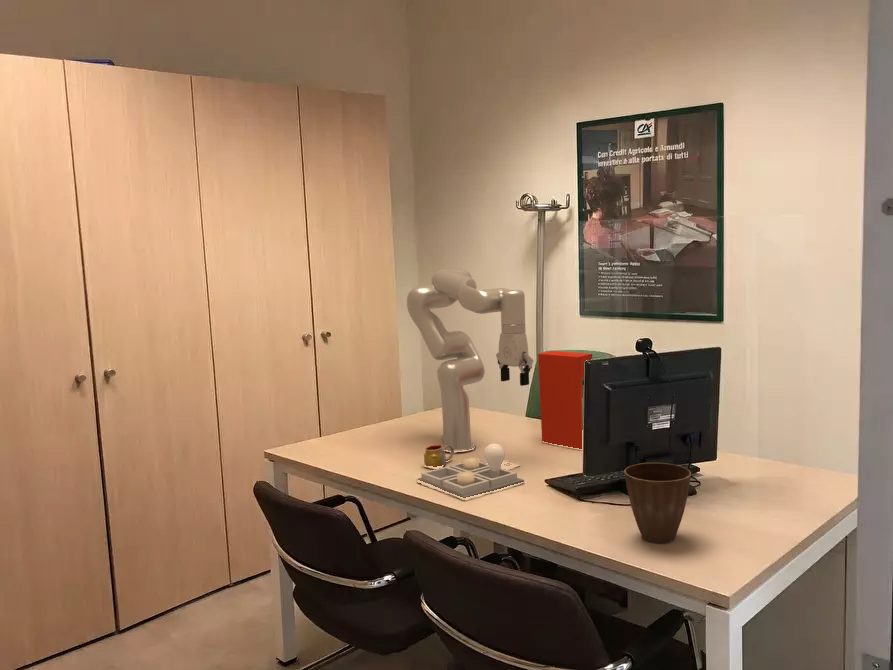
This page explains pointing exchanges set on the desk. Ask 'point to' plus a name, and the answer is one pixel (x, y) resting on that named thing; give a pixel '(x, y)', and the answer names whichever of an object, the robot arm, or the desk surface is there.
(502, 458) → the lightbulb
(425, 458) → the mug
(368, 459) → the desk surface
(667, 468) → the plant pot
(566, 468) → the desk surface
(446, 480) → the compartment tray
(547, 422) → the file binder
